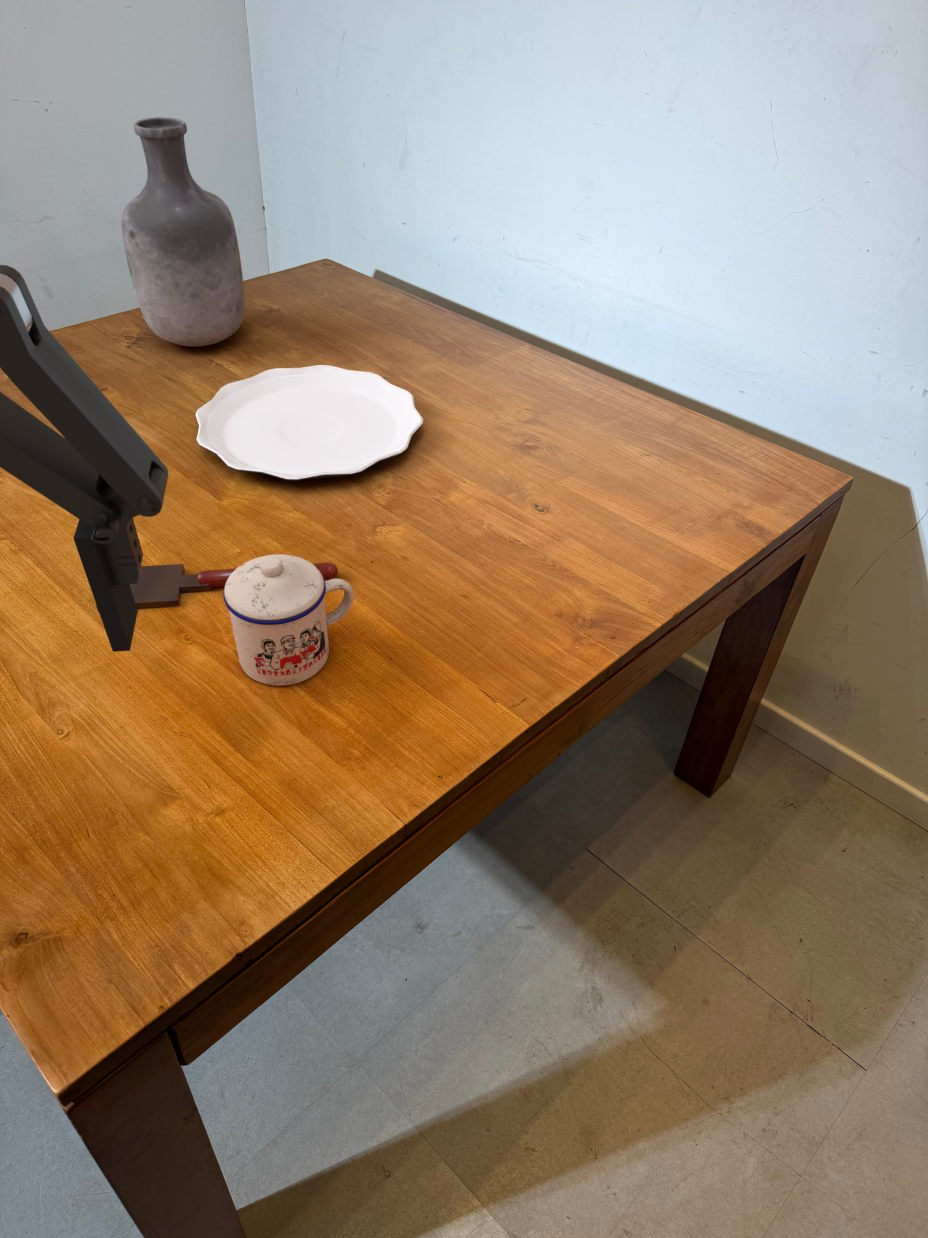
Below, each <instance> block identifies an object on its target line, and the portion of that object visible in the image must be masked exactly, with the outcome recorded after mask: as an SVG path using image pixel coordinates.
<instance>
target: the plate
mask: <svg viewBox="0 0 928 1238" xmlns="http://www.w3.org/2000/svg"><path fill="white" fill-rule="evenodd" d="M414 399H415V398H414V395H413V394H412V393H411V392H410V391H408V390H407V389H404V388H402V387H399V386H396V385H395V384H391V382H389V381H388V380H386V379H385V378H383V376H381V375H380V374H377V373H374V372H369V371H363V370H362V371H361V370H351V369H345V368H342V367H338V366H333V365H329V364H318V365H309V366H303V367H278V368H277V367H275V368H271V369H267V370H264V371H262V372H260V373H257V374H255V375H253V376H250V377H247V378H244V379H240V380H236V381H232V382H229V383H227V384H225V385H223V386H222V387H220V388H219V389H218V391H217V392H216V393H215V395H214V396H213V397H212V399H210V400H209V401H208V402H206V403H205V404H204V405H202V406H201V407H199V408H198V409H197V410H196V412H195V417H196V421H197V423H198V431H197V436H196V439H195V440H196V442H197V444H198V445H199V447H201V448H203V449H204V450H207V451H208V452H210V453H212V454H214V455H216V456H217V457H218V458H219V459H220V460H221V461H222V462H223V463H224V464H225V465H226V466H227V468H230V469H232V470H234V471H239V472H240V471H241V472H247V473H248V472H249V473H256V474H263V475H267V476H270V477H272V478H273V477H274V478H277V479H281V480H283V481H284V480H285V481H302V480H316V479H317V480H318V479H319V480H320V479H327V478H332V477H333V478H334V477H345V476H352V475H356V474H360V473H362V472H364V471H366V470H368V469H369V468H371V467H373V466H374V465H376V464H378V463H380V462H383V461H385V460H388V459H391V458H394V457H396V456H399V455H402V454H404V453H405V451H407V450H408V448H409V445H410V441H411V439H412V437H413V435H415V434H416V433H417V431H419V430H420V428H421V427H422V426H423V422H424V418H423V417H422V415H421V414H420V412H419V411H418V410H417V409H416V407H415V402H414V401H415V400H414Z"/></svg>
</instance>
